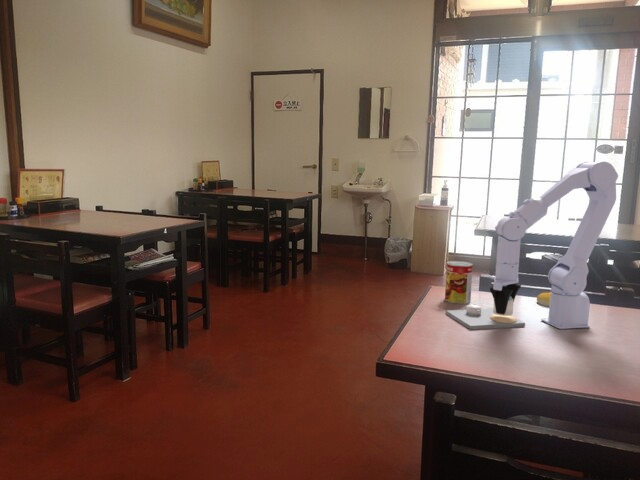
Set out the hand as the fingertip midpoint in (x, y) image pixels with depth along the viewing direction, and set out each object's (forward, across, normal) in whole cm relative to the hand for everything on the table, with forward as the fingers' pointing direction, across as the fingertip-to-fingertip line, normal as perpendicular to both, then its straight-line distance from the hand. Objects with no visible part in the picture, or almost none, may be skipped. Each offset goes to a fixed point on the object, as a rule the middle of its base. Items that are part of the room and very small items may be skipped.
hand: (503, 311), depth 135 cm
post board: (+3, +1, -5) cm, 6 cm away
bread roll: (+4, -30, +6) cm, 31 cm away
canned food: (+3, -14, -19) cm, 23 cm away
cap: (+1, 0, 0) cm, 1 cm away
